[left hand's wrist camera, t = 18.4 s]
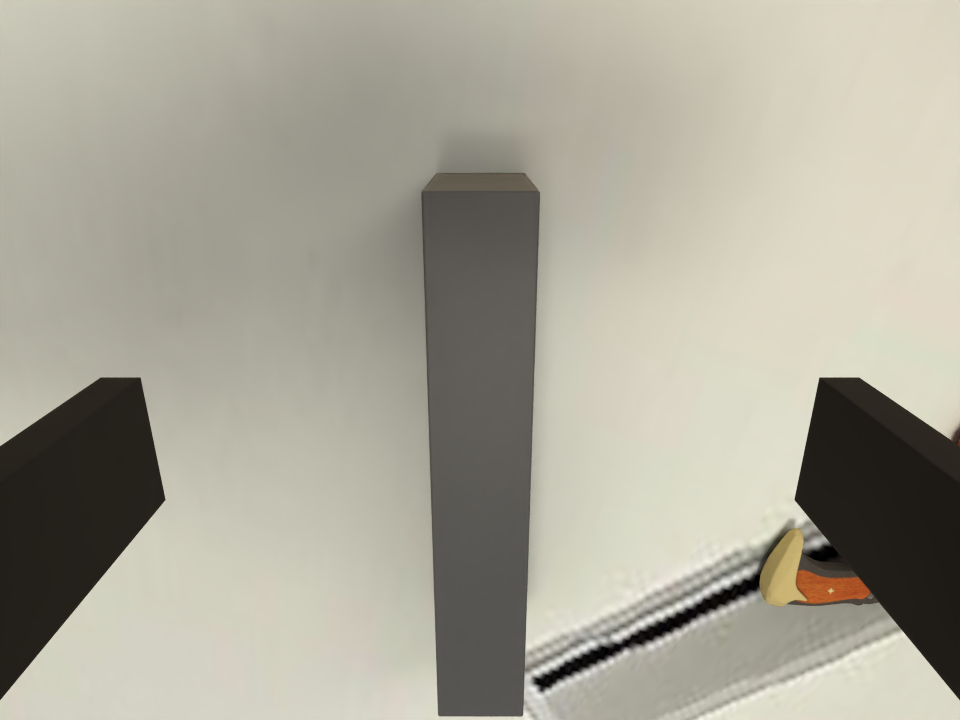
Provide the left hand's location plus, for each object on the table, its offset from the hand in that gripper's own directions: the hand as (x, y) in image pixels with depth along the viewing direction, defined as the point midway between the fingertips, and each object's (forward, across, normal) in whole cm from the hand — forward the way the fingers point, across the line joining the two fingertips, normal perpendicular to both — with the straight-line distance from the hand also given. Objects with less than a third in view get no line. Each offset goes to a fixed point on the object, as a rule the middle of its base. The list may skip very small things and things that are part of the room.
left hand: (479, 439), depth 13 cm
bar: (+23, 0, -11) cm, 26 cm away
